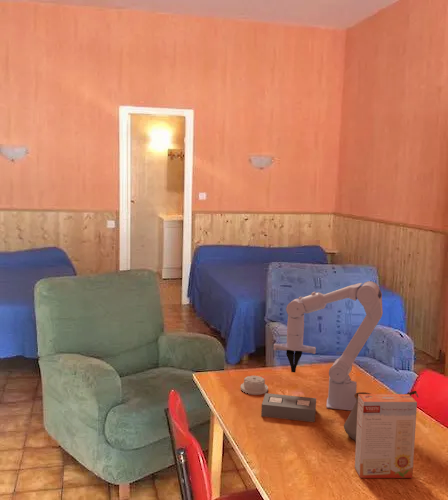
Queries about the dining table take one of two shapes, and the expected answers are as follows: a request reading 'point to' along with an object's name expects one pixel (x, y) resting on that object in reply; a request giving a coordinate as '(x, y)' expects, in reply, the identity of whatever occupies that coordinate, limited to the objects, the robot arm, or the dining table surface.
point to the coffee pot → (351, 421)
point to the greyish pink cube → (275, 400)
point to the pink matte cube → (303, 402)
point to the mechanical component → (254, 385)
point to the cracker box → (385, 435)
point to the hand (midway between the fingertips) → (293, 371)
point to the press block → (289, 408)
